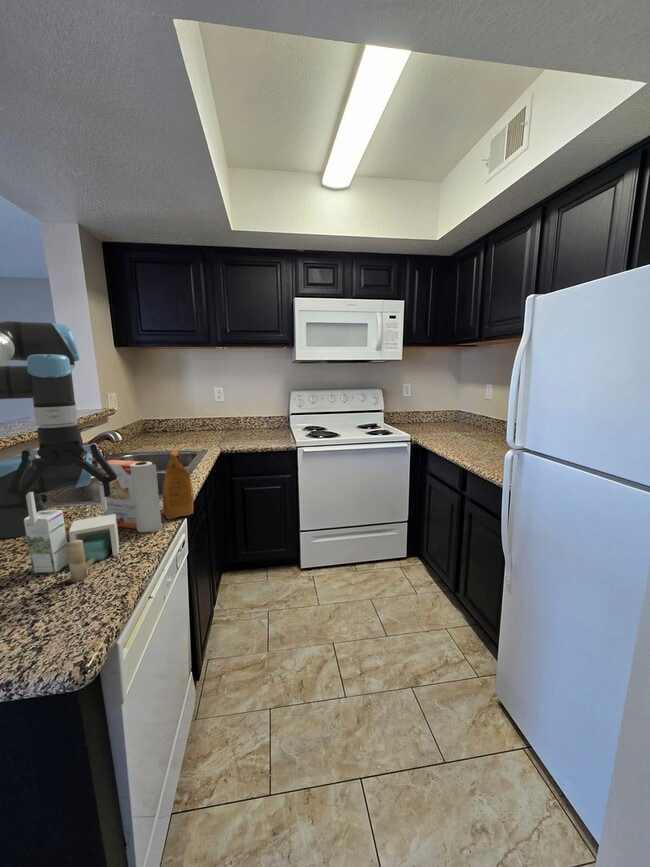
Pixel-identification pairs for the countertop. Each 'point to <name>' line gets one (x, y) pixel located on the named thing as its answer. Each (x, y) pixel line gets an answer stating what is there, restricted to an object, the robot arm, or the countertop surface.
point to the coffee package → (177, 489)
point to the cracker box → (121, 494)
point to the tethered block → (86, 554)
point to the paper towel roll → (146, 496)
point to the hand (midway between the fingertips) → (70, 515)
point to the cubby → (96, 530)
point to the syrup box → (47, 541)
